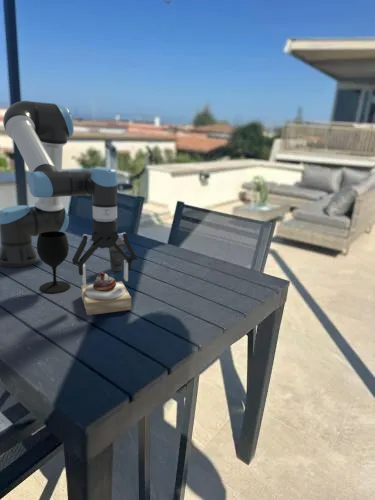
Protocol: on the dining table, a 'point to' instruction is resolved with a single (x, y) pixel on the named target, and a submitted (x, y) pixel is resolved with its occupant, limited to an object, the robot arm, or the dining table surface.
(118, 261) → the beverage cup
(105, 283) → the pastry
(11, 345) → the dining table surface
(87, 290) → the plinth
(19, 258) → the robot arm
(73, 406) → the dining table surface
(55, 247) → the wine glass
